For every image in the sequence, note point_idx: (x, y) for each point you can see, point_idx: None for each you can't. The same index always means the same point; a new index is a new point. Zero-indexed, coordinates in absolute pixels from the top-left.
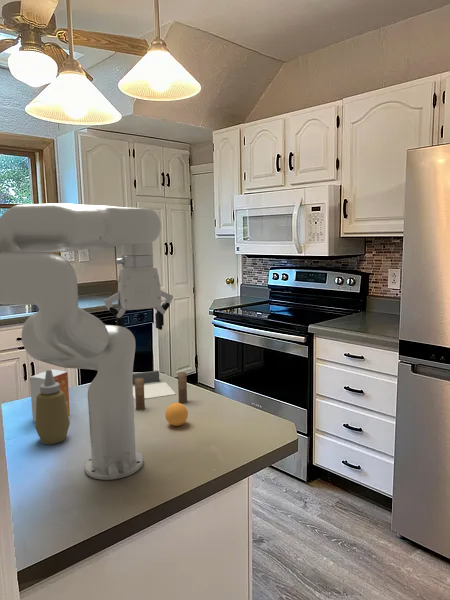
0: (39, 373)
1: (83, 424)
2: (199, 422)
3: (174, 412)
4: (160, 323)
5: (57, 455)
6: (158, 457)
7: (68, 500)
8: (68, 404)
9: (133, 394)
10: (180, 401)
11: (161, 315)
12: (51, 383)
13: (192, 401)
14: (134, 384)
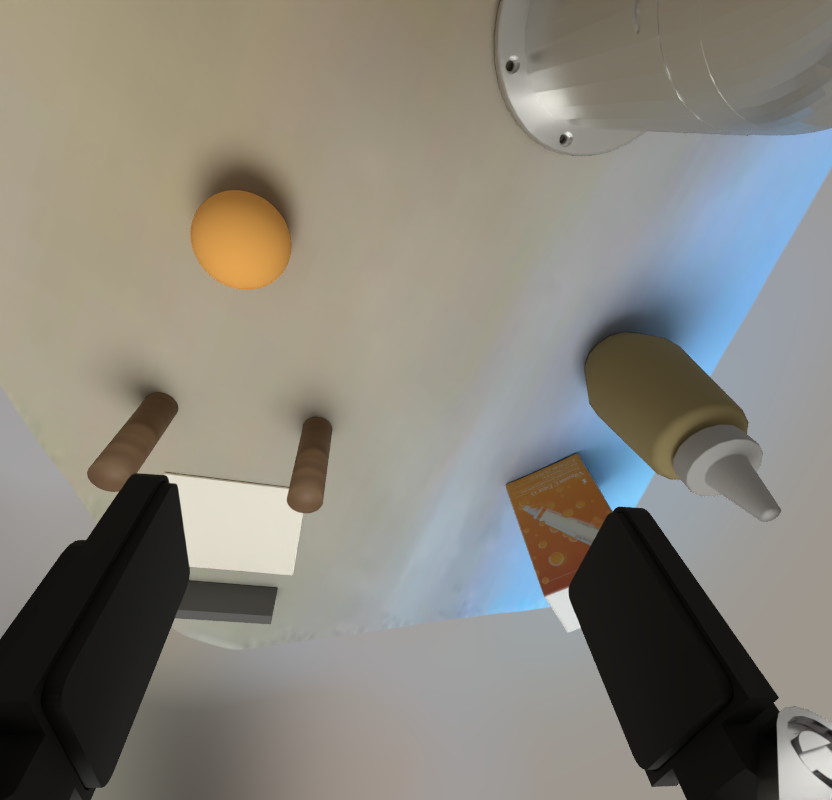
0: None
1: (506, 412)
2: (158, 196)
3: (259, 213)
4: (119, 537)
5: (666, 254)
6: None
7: None
8: (516, 506)
9: (297, 526)
10: (171, 403)
11: (3, 675)
12: (738, 460)
13: (124, 393)
14: (266, 587)
